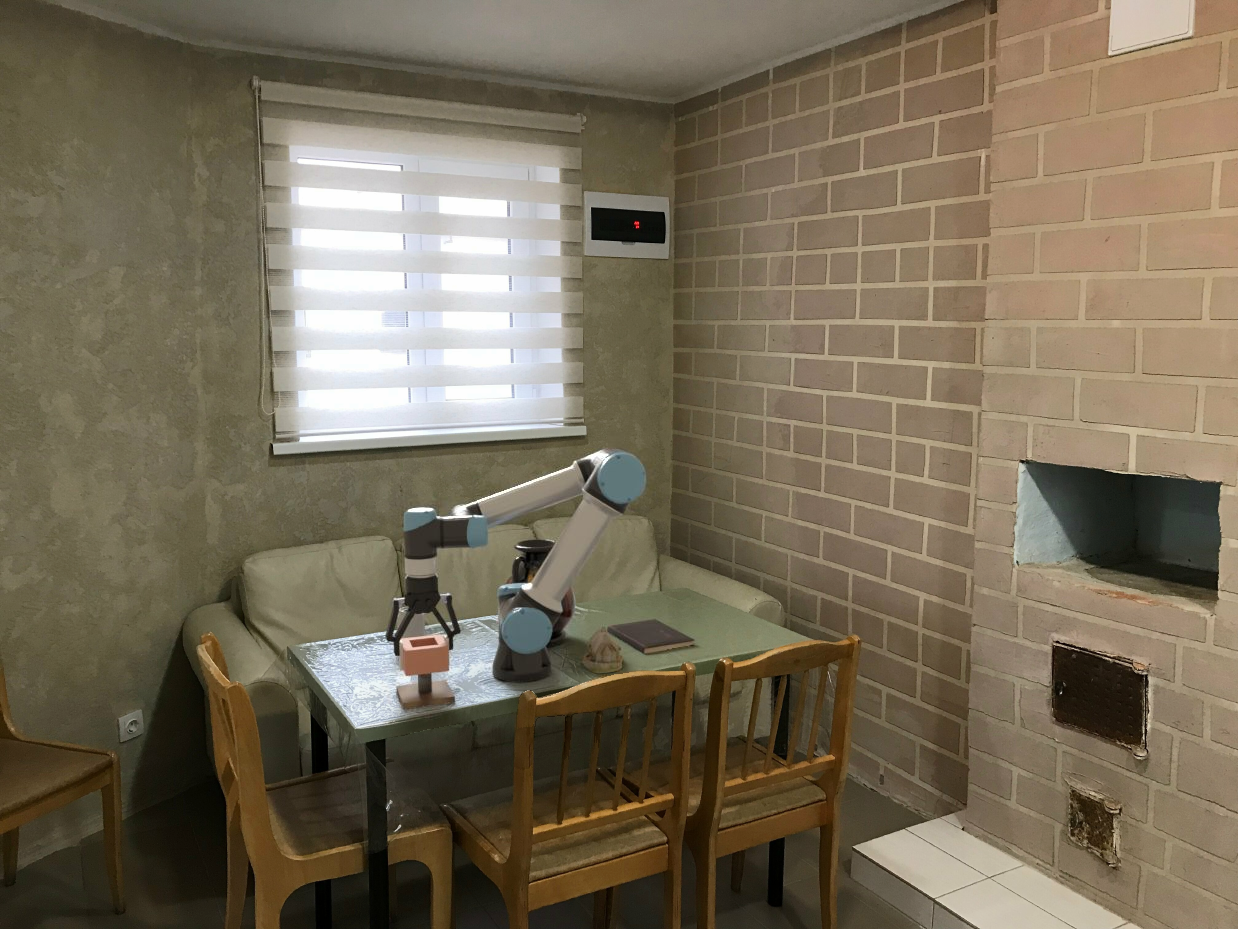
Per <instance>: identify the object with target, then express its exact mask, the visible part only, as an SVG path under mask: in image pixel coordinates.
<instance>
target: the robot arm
mask: <svg viewBox="0 0 1238 929" xmlns="http://www.w3.org/2000/svg"><path fill="white" fill-rule="evenodd" d="M646 484H647V472H646V469H645V467H644V465H643V463H642V462H641V461H640V459H639V458H638V457H637V456H635V455H634V454H632V453H630V452H628V451H627V450H625V449H623V448H621V447H614V446H613V447H611V446H610V447H605V448H603V449H601V450H598V451H596V452H593V453H592V454H589V455H586V456H584V457H582V458H579V459H577V460H574V461H573V463H572V465H571V466H569V467H567V468H566V467H565V468H564V469H563V468H562V469H561V470H559V471H556V472H553V473H549V474H547V475H543V476H542V477H539V478H536V479H533V480H531V481H528V482H525V483H523V484H520V485H518V486H517V485H516V486H515V487H511V488H509V489H506V490H504V491H501V492H497V493H495V494H492V495H490V496H487V497H483V498H481V499H478V500H476V501H472V502H471V503H468V504H458V505H455V506H454V507H453V508H452V509H451V510H450V512H449V513H448V514H447V516H437V510H436V509H434V508H431V507H415V508H410V509H407V510H406V511H405V512H404V513H403V546H404V573H405V574H406V575H405V577H404V580H405V581H404V582H405V595H404V596H403V597H401V598H397V597H393V598H392V600H391V602H392V608H391V613H390V617H389V619H388V620H389V621H388V624H387V628H386V632H385V634H384V635H385V639H386V641H387V642H391V643H393V654H394V656H395V657H398V668H399V670H400V671H404V663H403V642H402V640H401V638H402V636H403V634H404V632H405V630H406V629H407V627H408V625H409V623H410V621H411V619H412V618H413V617H414V615H415V614H422V613H424V614H430V613H432V615H434V617H435V618H436V620H437V621H438V623H439V624H440V625H441V627H442V629H443V630H444V632H445V633H446V634H445V635H443V638H444V640H445V641H446V643H447V645H448V646H449V651H453V650H454V637H455V636H456V635H459V634H461V632H462V631H461V627H460V625H459V624H460V623H459V621H458V619H457V615H456V613H455V610H454V607H453V596H452V594H451V593H450V592H446V593H445V594H444V593H443V594H441V593H440V592H439V576H438V574H437V573H438V571H439V570H438V569H439V568H438V566H439V565H438V549H441V550H443V549H467V548H468V549H470V548H471V549H475V548H483V547H484V548H485V547H486V546H487V545H488V543H489V529H491V528H494V527H496V526H501V525H502V524H505V523H508V522H511V521H513V520H516V519H519V518H522V517H524V516H527V515H530V514H532V513H535V512H537V511H541V510H544V509H545V508H548V507H552V506H554V505H556V504H559V503H563V502H566V501H568V500H571V499H574V498H576V497H579V496H582V500H581V502H580V503H579V505H578V507H577V508H576V510H575V512H574V513H573V514H572V516H571V518H570V520H569V521H568V523H567V524H566V525H565V527H564V529H563V531H562V532H561V534H560V536H558V538H557V540H556V541H555V542H556V543H555V545H554V547H553V548H552V550H551V551H550V553H549V555H548V556H547V558H546V559H545V561H544V562H543V564H542V566H541V567H540V569H539V570H538V572H537V574H536V575H535V577H534V578H533V580H532V582H531V583H514V584H506V585H504V584H502V585H500V586H499V587H498V589H497V595H496V599H497V626H498V645H497V648H496V651H495V655H494V659H493V661H492V665H491V666H492V667H491V668H492V669H491V671H492V675H494V676H493V677H495V678H496V677H497V678H496V679H498V678H499V680H501V679H502V680H501V681H505V680H507V681H506V682H512V681H519V682H520V683H521V681H524V682H523V683H525V682H533V681H537V680H541V679H543V678H547V677H548V676H550V675H551V674H552V672H553V670H552V668H553V666H552V660H551V657H550V655H549V651H548V647H546V645H547V644H548V642H549V640H550V638H551V635H552V627H553V626H554V624H555V622H556V621H557V619H558V618H559V616H560V614H561V613H562V611H563V610H562V606H561V601H562V599H563V598H564V596H565V594H566V593H567V591H568V590H569V588H570V586H572V585H573V584H574V581H575V580H576V579H577V577H578V575H579V574H580V572H581V570H582V569H583V567H584V566H585V564H586V562H587V561H588V559H589V558H590V556H591V555H592V553H593V551H594V549H595V548H596V547H597V545H598V544H599V542H600V540H601V539H602V537H603V536H604V534H605V532H606V531H607V528H608V527H609V526H610V524H611V523H612V521H613V519H614V518H617V517H621V516H623V515H624V514H625V512H626V511H627V509H628V508H629V506H630V504H631V503H632V502H634V501H636V500H637V499H638V498H639V497H640V496H641V495H642V494H643V492H644V490H645V488H646ZM440 601H442V603H443V604H444V605H445V607H446V609H447V612H448V616H449V620H450V621H451V622H450V623H451V625H452V627H453V628H450V627H449V626H448V624H447V623H446V620H444V618H443V616H442V615H441V613H440V612H439V610H438V609H437V607H436V606H438V603H439V602H440ZM404 603H405V605H406V607H409V608H408V610H407V612H406V615H405V616H404V618H403V620H402V622H401V624H400V626H399V628H398V629H397V628H396V626H397V617H398V614H399V609H400V608H403V604H404ZM395 628H396V632H395ZM394 633H395V634H394ZM519 682H518V683H519Z"/></svg>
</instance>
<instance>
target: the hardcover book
mask: <svg viewBox="0 0 1238 929" xmlns="http://www.w3.org/2000/svg"><path fill="white" fill-rule="evenodd" d="M606 632H607V633H608V632H609V633H608V634H609V635H611V634H612V636H613V635H614V636H613V637H615V638H616V637H617V638H616V639H618V640H619V641H621V640H622V642H623V643H625V644H626V643H627V645H628V646H630V647H631V648H633V649H634V650H636V651H638V652H640V653H641V654H643V655H645V654H650V653H656V652H657V653H658V652H661V651H668V650H667V649H669V650H673V649H672V648H676V649H678V648H677V647H682V648H684V647H683V646H687V645H688V647H690V646H689V645H694V641H696V640H695V639H694V638H692V637H690V636H688V635H687V634H684V633H683V632H680V631H679V630H677V629H675V628H673V627H671V626H669V625H668V624H665V623H664V622H662V621H659V620H657V619H656V618H654V619H647V620H639V621H633V622H626V623H619V624H612V625H608V626H607V628H606Z"/></svg>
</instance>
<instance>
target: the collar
mask: <svg viewBox="0 0 1238 929" xmlns="http://www.w3.org/2000/svg"><path fill="white" fill-rule="evenodd" d="M401 640H402V642H403V663H404V670H403V672H404V675H405V677H410V676H418V675H420V674H428V673H431V674H434V673H435V674H436V673H444V672H449V671H450V650H449V646H448V645H447V643H446V641H445V640H444V635H442V634H430V635H425V636H421V637H411V638H402V639H401Z"/></svg>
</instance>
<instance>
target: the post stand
mask: <svg viewBox="0 0 1238 929" xmlns="http://www.w3.org/2000/svg"><path fill="white" fill-rule="evenodd" d="M432 675H433V673H428V674H420V675H417V683H412V684H411V683H410V684H403V685H396V687H395V688H396V694H397V697H398V699H400V700H399V702H400V704H402V705H401V707H403V708H402V709H403V710H408V708H410V709H417V708H423V707H422V706H425V707H433V706H438V705H445V704H446V705H447V704H448V705H449V704H452V702H455V703H456V696H455V694H454V693H453V690H452V689H451V687H450V685H449V683H448V681H447V680H446V679H443V680H435V681H434V680H432V678H433V677H432ZM415 707H416V708H415ZM405 708H407V709H405Z"/></svg>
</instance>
